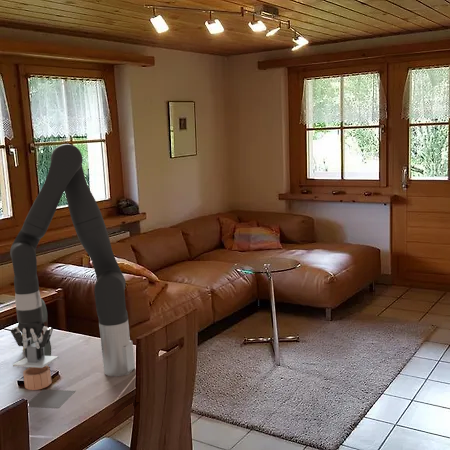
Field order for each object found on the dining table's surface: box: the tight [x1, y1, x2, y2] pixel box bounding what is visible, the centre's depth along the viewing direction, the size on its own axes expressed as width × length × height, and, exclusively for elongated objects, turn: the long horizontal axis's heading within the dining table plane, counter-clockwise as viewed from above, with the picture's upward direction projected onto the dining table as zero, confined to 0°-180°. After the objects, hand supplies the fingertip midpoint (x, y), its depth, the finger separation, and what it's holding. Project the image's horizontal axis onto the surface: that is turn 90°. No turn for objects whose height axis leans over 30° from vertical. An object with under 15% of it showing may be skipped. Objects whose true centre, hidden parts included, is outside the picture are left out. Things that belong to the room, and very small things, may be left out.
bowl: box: [22, 365, 53, 391], centre depth 185 cm, size 8×8×5 cm
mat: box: [27, 389, 76, 409], centre depth 175 cm, size 11×11×1 cm
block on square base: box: [12, 343, 60, 368], centre depth 184 cm, size 10×10×6 cm
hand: (34, 358), depth 184 cm, fingers closed on block on square base, 3 cm apart
